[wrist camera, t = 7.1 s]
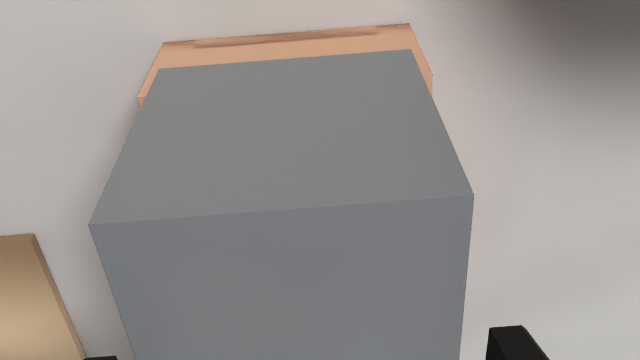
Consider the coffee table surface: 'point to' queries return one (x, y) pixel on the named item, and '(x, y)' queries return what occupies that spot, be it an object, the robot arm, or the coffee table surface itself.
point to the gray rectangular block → (288, 214)
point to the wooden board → (32, 306)
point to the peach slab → (288, 48)
